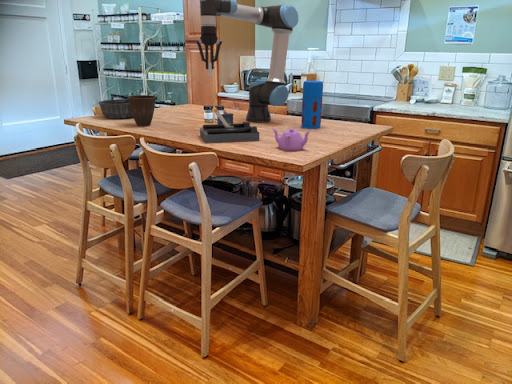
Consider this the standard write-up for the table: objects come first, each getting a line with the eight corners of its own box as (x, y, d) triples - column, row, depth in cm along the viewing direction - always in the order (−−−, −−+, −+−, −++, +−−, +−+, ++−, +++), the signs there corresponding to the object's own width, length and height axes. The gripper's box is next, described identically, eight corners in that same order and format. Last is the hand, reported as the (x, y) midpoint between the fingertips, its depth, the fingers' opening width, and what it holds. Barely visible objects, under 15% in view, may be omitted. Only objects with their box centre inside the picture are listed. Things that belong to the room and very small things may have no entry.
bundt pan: (90, 118, 254) (88, 102, 251) (119, 112, 277) (117, 97, 274) (125, 121, 245) (123, 104, 241) (152, 115, 268) (150, 99, 264)
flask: (218, 131, 219) (218, 111, 215) (216, 130, 221) (215, 110, 217) (234, 130, 223) (233, 110, 219) (231, 129, 225) (231, 109, 222)
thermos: (322, 126, 236) (325, 81, 227) (317, 129, 226) (320, 82, 218) (304, 124, 240) (306, 80, 232) (298, 127, 231) (300, 81, 222)
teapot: (310, 150, 181) (311, 130, 178) (280, 152, 176) (281, 132, 174) (299, 144, 191) (299, 125, 188) (271, 146, 187) (271, 127, 184)
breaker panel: (250, 133, 215) (250, 121, 212) (259, 140, 198) (259, 127, 196) (200, 135, 208) (199, 123, 206) (205, 143, 192) (205, 129, 190)
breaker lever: (230, 127, 204) (214, 106, 199) (232, 129, 200) (216, 108, 194) (227, 129, 204) (211, 109, 199) (229, 131, 200) (213, 110, 194)
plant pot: (151, 122, 243) (149, 94, 238) (161, 126, 232) (159, 97, 226) (126, 124, 235) (123, 96, 230) (135, 128, 223) (133, 98, 218)
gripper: (220, 26, 205) (221, 75, 213) (194, 25, 202) (196, 75, 210) (223, 25, 198) (224, 76, 206) (196, 25, 195) (197, 76, 203)
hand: (209, 76), depth 208 cm, fingers closed
